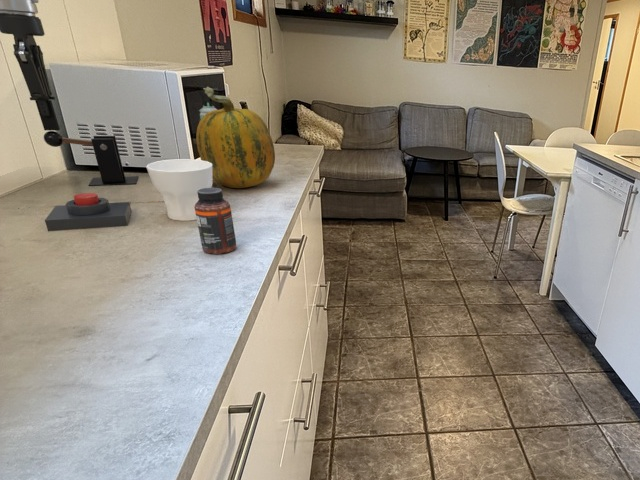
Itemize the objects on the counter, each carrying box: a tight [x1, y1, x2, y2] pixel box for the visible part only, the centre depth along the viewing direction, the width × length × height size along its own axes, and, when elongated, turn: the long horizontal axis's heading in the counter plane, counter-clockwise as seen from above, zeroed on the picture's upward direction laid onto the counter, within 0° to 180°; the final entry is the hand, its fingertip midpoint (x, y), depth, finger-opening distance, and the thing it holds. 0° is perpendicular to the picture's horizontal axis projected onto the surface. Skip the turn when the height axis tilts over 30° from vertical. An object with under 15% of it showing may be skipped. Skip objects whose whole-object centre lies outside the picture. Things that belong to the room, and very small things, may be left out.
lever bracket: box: [87, 135, 139, 187], centre depth 119 cm, size 10×8×12 cm
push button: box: [73, 192, 100, 205], centre depth 96 cm, size 4×4×2 cm
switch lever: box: [43, 130, 93, 148], centre depth 114 cm, size 13×4×4 cm, turn 117°
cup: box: [146, 158, 213, 222], centre depth 102 cm, size 12×12×11 cm
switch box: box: [44, 197, 133, 232], centre depth 97 cm, size 13×10×4 cm
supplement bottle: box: [194, 187, 237, 255], centre depth 86 cm, size 6×6×11 cm
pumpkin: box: [195, 86, 276, 189], centre depth 124 cm, size 19×19×25 cm
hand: (52, 129), depth 111 cm, fingers closed
